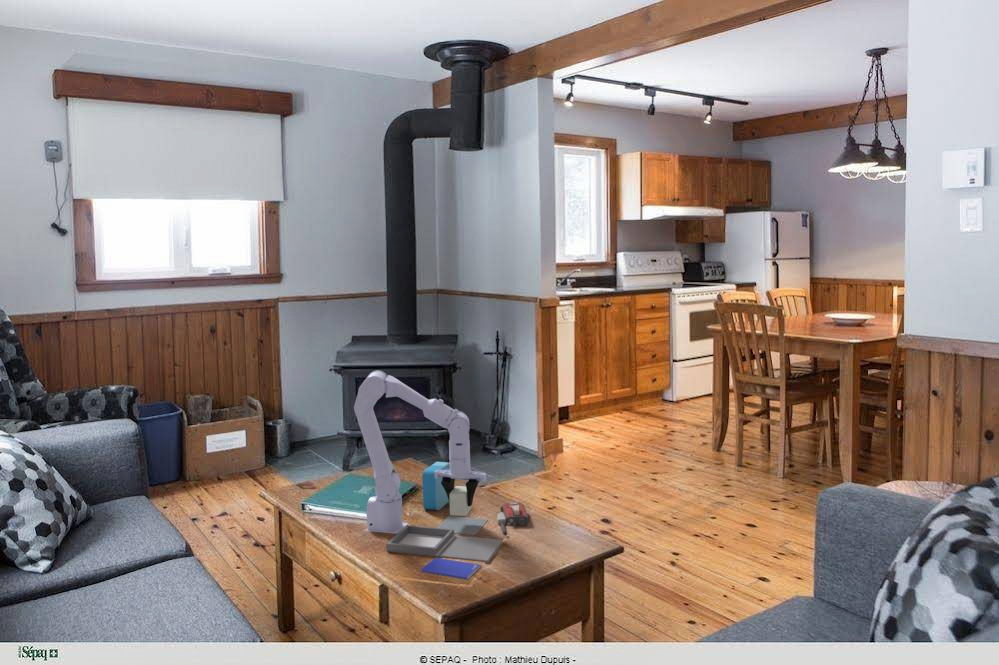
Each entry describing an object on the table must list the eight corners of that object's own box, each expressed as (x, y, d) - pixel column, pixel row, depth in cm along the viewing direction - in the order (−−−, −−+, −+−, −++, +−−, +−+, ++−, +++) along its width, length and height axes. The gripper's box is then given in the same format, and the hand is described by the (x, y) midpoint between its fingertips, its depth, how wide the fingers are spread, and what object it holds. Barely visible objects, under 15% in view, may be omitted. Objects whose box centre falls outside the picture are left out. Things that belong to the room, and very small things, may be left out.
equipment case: (386, 553, 203) (386, 543, 203) (407, 533, 216) (407, 524, 216) (487, 563, 195) (487, 553, 195) (502, 542, 208) (502, 533, 208)
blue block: (439, 497, 245) (438, 460, 244) (452, 499, 244) (451, 461, 243) (423, 510, 234) (421, 471, 233) (437, 512, 233) (435, 472, 231)
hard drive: (481, 563, 193) (436, 556, 198) (466, 577, 185) (420, 569, 190) (481, 570, 193) (436, 562, 198) (467, 583, 186) (420, 575, 190)
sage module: (449, 515, 217) (449, 493, 216) (456, 506, 223) (455, 485, 223) (465, 515, 216) (465, 494, 215) (471, 507, 223) (471, 486, 222)
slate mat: (433, 533, 216) (433, 530, 216) (448, 517, 228) (448, 515, 228) (475, 537, 213) (475, 534, 213) (488, 521, 224) (488, 519, 224)
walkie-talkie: (494, 512, 232) (500, 538, 213) (493, 498, 232) (500, 522, 212) (523, 511, 233) (533, 536, 214) (523, 496, 233) (532, 520, 213)
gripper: (489, 454, 220) (490, 501, 221) (440, 451, 224) (441, 497, 225) (481, 461, 213) (482, 510, 214) (431, 458, 217) (432, 506, 219)
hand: (460, 504), depth 219 cm, fingers closed on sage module, 5 cm apart
